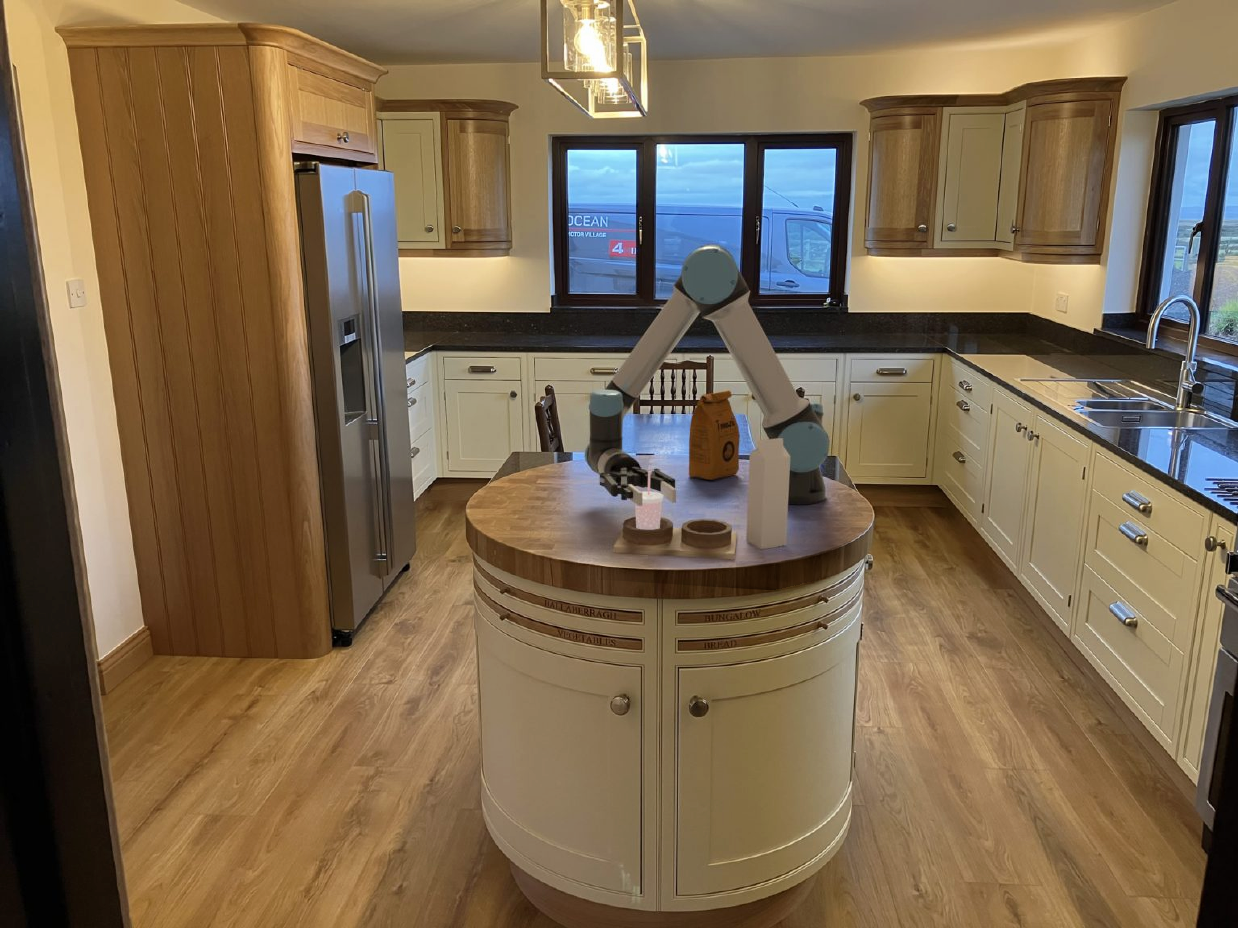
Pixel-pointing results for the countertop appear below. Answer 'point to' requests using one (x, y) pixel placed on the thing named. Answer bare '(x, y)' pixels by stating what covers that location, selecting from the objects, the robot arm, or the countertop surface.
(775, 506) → the milk
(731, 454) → the coffee package
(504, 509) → the countertop surface
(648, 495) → the beverage cup
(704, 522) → the socket board
